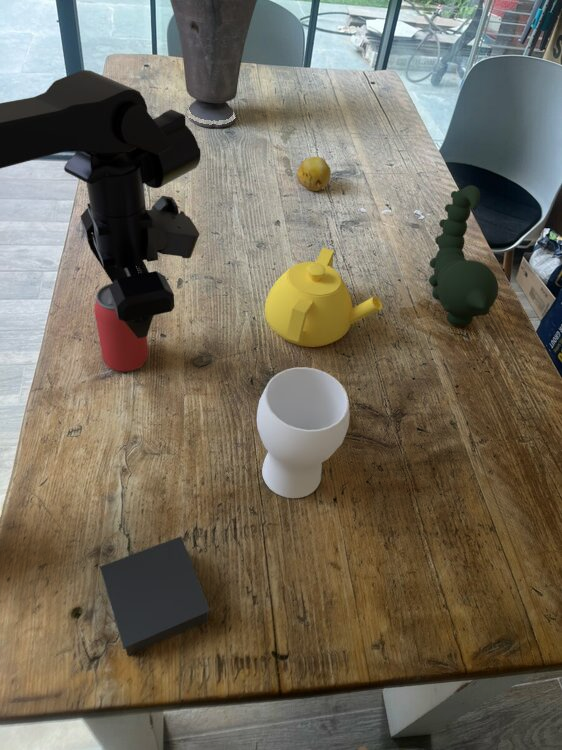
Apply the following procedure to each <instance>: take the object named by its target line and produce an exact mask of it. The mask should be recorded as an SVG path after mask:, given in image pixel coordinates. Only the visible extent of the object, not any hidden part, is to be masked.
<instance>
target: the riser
mask: <svg viewBox="0 0 562 750" xmlns="http://www.w3.org/2000/svg"><path fill="white" fill-rule="evenodd" d="M99 569H100V572H101V573H100V574H101V576H102V579H103V582H104V586H105V590H106V594H107V597H108V600H109V603H110V607H111V611H112V614H113V618H114V621H115V625H116V628H117V632H118V635H119V639H120V642H121V646H122V649H123V650H125V651H126V656H128V657H129V656H131V655H133V654H135V653H138V652H140V651H142V650H144V649H147V648H149V647H151V646H154V645H156V644H159V643H161V642H163V641H166V640H168V639H170V638H172V637H174V636H177V635H179V634H182V633H184V632H186V631H188V630H190V629H192V628H195V627H197V626H199V625H201V624H205V623H206V622H208V621H209V613H211V608H210V606H209V603H208V601H207V598H206V595H205V593H204V590H203V588H202V585H201V583H200V580H199V578H198V575H197V573H196V569H195V567H194V564H193V563H192V560H191V557H190V555H189V552H188V550H187V547H186V544H185V542H184V539H183V536H182V535H181V536H178V537H175V538H172V539H170V540H168V541H164V542H162V543H159V544H156V545H154V546H151V547H149V548H146V549H144V550H140V551H138V552H135V553H132V554H130V555H127V556H125V557H122V558H119V559H116V560H114V561H111V562H108V563H106V564H103V565H100V566H99Z"/></svg>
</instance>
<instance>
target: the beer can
mask: <svg viewBox="0 0 562 750" xmlns="http://www.w3.org/2000/svg"><path fill="white" fill-rule="evenodd" d="M111 284H112V282H111V283H108V284H105V285H104V286H102V287H100V288H99V289H98V291H97V292H96V296H95V302H94V309H93V311H94V316H95V317H94V318H95V321H96V327H97V334H98V339H99V344H100V345H99V346H100V350H101V357H102V360H103V363H104V364H105V365H106V366H107V367H108V368H110V369H111V370H114V371H116V372H131V371H135V370H137V369H139V368H141V367H142V366H143V365H144V364H146V361H147V360H148V358H149V346H148V345H149V344H148V335H147V336H146V337H143V338H137V337H136V335H135V334H134V333H133V332H132V331H131V329H130V328H129V327H128V326H127V325H126V324H125V322H124V321H122V320H119V319H118V317H117V314H116V312H115V309H114V307H113V304H112V300H111V296H110V291H109V286H110V285H111Z"/></svg>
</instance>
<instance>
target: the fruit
mask: <svg viewBox="0 0 562 750" xmlns="http://www.w3.org/2000/svg"><path fill="white" fill-rule="evenodd" d="M331 175H332V174H331V167H330V166H329V164H328V163H327V161H326V160H325V159H324V158H323V157H320V156H310V157H307V158H305V159H304V160H303V161H302V162H301V163H300V165H299V166H298V169H297V172H296V178H297V181H298V183H299V184H300V185H301V186H303V187H304V188H306V190H309V191H313V192H314V191H315V192H318V191H322V190H323V189H324V188H326V187H327V185H328V184H329V182H330V180H331Z"/></svg>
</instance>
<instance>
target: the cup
mask: <svg viewBox="0 0 562 750" xmlns="http://www.w3.org/2000/svg"><path fill="white" fill-rule="evenodd" d="M350 415H351V413H350V401H349V397H348V393H347V391H346V390H345V387H344V386H343V385H342V384H341V383H340V382H339V380H337V378H336V377H334V376H332V375H330V373H327V372H325V371H323V370H320V369H317V368H312V367H305V366H303V367H299V366H298V367H297V366H296V367H292V368H287V369H284V370H282V371H280V372H278V373H276V374H275V375H274V376H273V377H272V378H270V379H269V381H268V382H267V385H266V386H265V387H264V390H263V392H262V394H261V396H260V398H259V401H258V406H257V412H256V426H257V427H256V428H257V432H258V434H259V437H260V441H261V442H262V445H263V447H264V448H265V450H266V451H267V453H266V456H265V458H264V460H263V463H262V468H261V473H262V478H263V480H264V483H265V485H266V486H267V487H268V488H269V489H270V490H271V491H272V492H273V493H274V494H276V495H279V496H281V497H283V498H287V499H300V498H304V497H307V496H309V495H311V494H313V493H314V492H315V491H316V490H317V488H318V487H319V485H320V483H321V481H322V471H323V468H322V467H323V466H322V463H324V462H326V461H327V460H329V459H330V458H331V457H332V455H333V454H334V453H335V452H336V451H337V450H338V449H339V448H340V447H341V445H342V444H343V442H344V440H345V438H346V436H347V432H348V429H349V425H350V417H351V416H350Z"/></svg>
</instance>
